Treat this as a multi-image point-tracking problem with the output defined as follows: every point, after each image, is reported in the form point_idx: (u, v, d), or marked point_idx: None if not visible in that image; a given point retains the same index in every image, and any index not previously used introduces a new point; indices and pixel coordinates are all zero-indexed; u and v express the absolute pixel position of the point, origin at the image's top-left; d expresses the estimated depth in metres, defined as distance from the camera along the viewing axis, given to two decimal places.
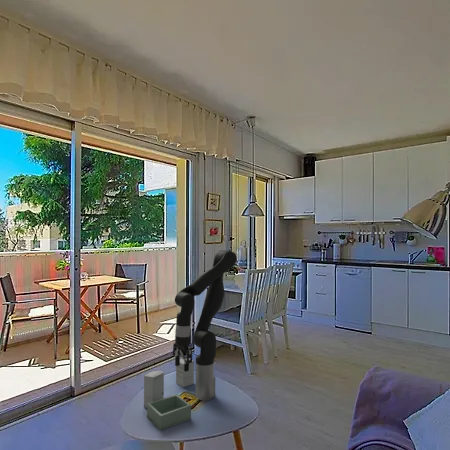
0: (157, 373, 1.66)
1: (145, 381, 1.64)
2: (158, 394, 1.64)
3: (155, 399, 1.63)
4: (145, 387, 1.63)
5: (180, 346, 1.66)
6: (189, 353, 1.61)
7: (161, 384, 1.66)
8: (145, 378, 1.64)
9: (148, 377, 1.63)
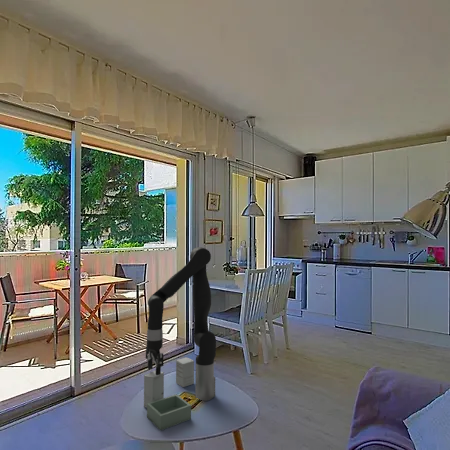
0: None
1: (145, 381, 1.64)
2: (158, 394, 1.64)
3: (155, 399, 1.63)
4: (145, 387, 1.63)
5: (152, 350, 1.66)
6: (160, 357, 1.61)
7: (161, 384, 1.66)
8: (145, 378, 1.64)
9: (148, 377, 1.63)
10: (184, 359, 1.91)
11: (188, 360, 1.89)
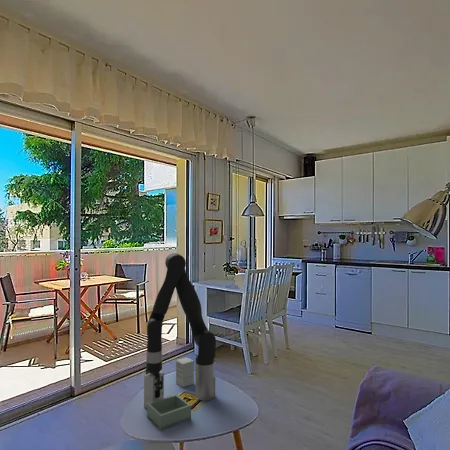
0: None
1: (145, 381, 1.64)
2: None
3: (155, 399, 1.63)
4: (145, 387, 1.63)
5: (151, 372, 1.66)
6: (160, 380, 1.60)
7: None
8: (145, 378, 1.64)
9: (148, 377, 1.63)
10: (184, 359, 1.91)
11: (188, 360, 1.89)
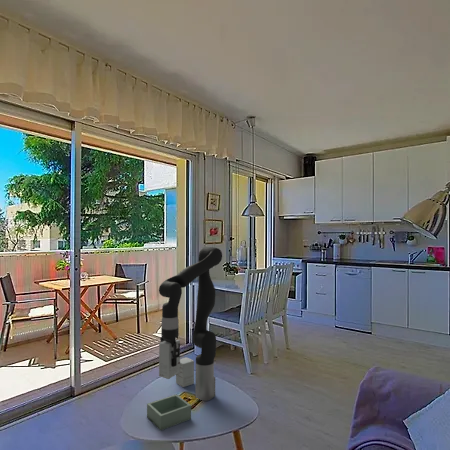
0: None
1: (160, 349, 1.52)
2: None
3: (171, 368, 1.51)
4: (161, 355, 1.52)
5: (167, 339, 1.54)
6: (176, 347, 1.49)
7: None
8: (161, 345, 1.52)
9: (163, 345, 1.51)
10: (184, 359, 1.91)
11: (188, 360, 1.89)
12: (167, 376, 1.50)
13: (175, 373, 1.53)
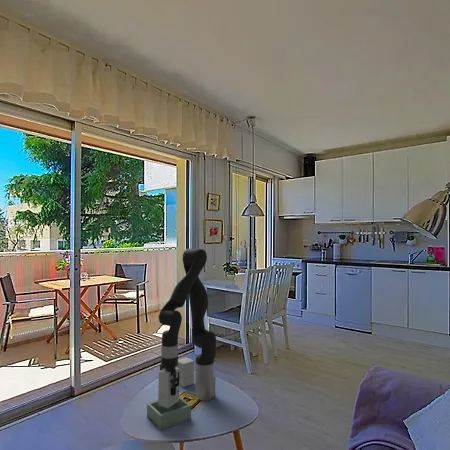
0: None
1: (160, 378, 1.52)
2: None
3: (170, 397, 1.51)
4: (160, 384, 1.51)
5: (167, 368, 1.54)
6: (176, 376, 1.49)
7: None
8: (160, 374, 1.52)
9: (163, 373, 1.51)
10: (184, 359, 1.91)
11: (188, 360, 1.89)
12: (166, 405, 1.49)
13: (174, 402, 1.53)
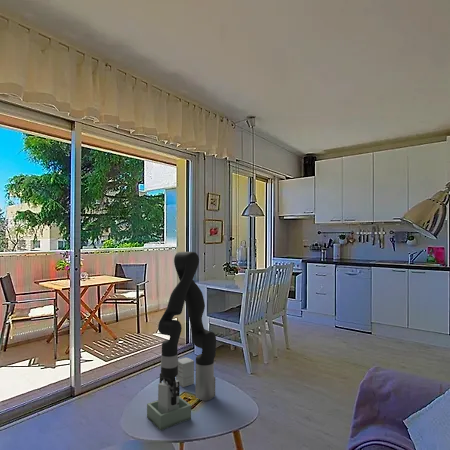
0: None
1: (159, 390, 1.52)
2: None
3: (170, 410, 1.51)
4: (160, 397, 1.52)
5: (166, 377, 1.54)
6: (176, 386, 1.49)
7: None
8: (160, 387, 1.52)
9: (162, 386, 1.51)
10: (184, 359, 1.91)
11: (188, 360, 1.89)
12: None
13: None
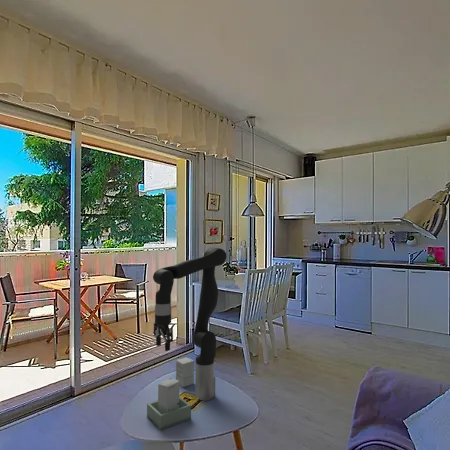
0: (172, 382, 1.55)
1: (159, 390, 1.52)
2: (173, 404, 1.53)
3: (170, 410, 1.51)
4: (160, 397, 1.52)
5: (160, 325, 1.59)
6: (169, 332, 1.54)
7: (176, 393, 1.54)
8: (160, 387, 1.52)
9: (162, 386, 1.51)
10: (184, 359, 1.91)
11: (188, 360, 1.89)
12: None
13: None
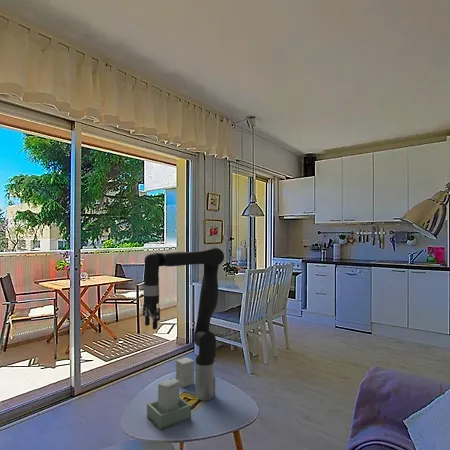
0: (172, 382, 1.55)
1: (159, 390, 1.52)
2: (173, 404, 1.53)
3: (170, 410, 1.51)
4: (160, 397, 1.52)
5: (149, 305, 1.69)
6: (157, 311, 1.64)
7: (176, 393, 1.54)
8: (160, 387, 1.52)
9: (162, 386, 1.51)
10: (184, 359, 1.91)
11: (188, 360, 1.89)
12: None
13: None
